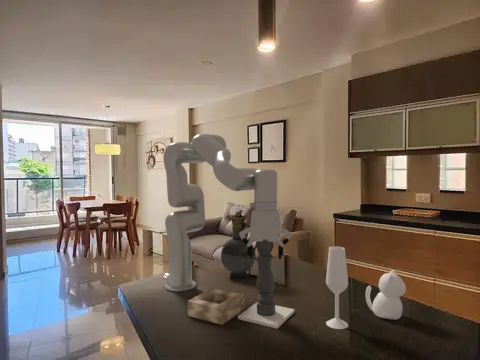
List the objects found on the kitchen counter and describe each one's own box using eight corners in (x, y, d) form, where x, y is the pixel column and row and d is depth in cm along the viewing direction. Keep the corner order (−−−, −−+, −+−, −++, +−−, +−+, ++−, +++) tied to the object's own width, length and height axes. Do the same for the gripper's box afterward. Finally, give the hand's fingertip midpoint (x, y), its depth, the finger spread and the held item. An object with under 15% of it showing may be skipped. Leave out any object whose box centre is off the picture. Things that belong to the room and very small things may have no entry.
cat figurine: (403, 325, 108) (404, 277, 107) (361, 316, 115) (362, 271, 114) (407, 315, 116) (408, 270, 115) (367, 306, 122) (368, 264, 122)
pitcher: (229, 270, 168) (228, 208, 167) (265, 275, 160) (265, 210, 159) (217, 276, 159) (216, 210, 158) (255, 282, 150) (255, 212, 149)
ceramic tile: (237, 319, 114) (237, 316, 114) (257, 304, 126) (257, 301, 126) (277, 328, 107) (277, 325, 106) (294, 312, 119) (294, 309, 119)
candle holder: (274, 316, 113) (272, 239, 112) (255, 315, 114) (253, 239, 113) (276, 309, 119) (274, 236, 118) (258, 308, 120) (256, 235, 119)
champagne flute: (323, 319, 113) (323, 245, 112) (344, 319, 112) (344, 245, 112) (328, 329, 106) (328, 250, 105) (350, 329, 106) (350, 250, 105)
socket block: (187, 315, 117) (187, 300, 117) (211, 301, 129) (211, 288, 129) (222, 324, 110) (222, 309, 109) (244, 309, 122) (244, 294, 121)
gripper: (239, 208, 111) (238, 260, 112) (293, 208, 111) (292, 261, 112) (239, 205, 119) (239, 254, 120) (290, 205, 119) (289, 255, 119)
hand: (265, 257), depth 116 cm, fingers open, 9 cm apart
